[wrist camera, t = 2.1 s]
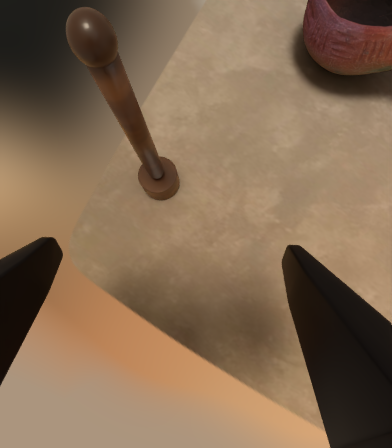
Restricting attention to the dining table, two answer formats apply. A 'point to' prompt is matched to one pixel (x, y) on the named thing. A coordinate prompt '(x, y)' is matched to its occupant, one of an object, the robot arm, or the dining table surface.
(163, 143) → the dining table surface
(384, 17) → the bowl
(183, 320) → the dining table surface
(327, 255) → the dining table surface
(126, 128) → the wooden pestle
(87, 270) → the dining table surface
